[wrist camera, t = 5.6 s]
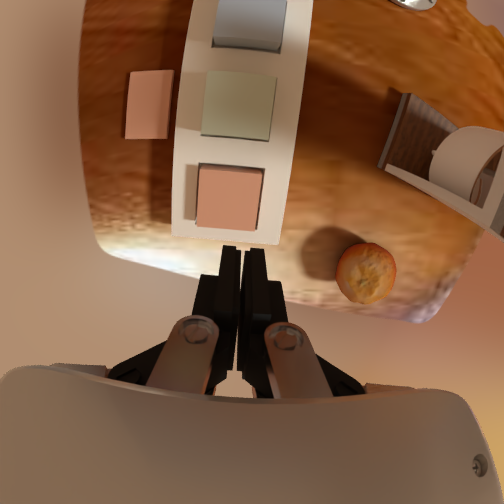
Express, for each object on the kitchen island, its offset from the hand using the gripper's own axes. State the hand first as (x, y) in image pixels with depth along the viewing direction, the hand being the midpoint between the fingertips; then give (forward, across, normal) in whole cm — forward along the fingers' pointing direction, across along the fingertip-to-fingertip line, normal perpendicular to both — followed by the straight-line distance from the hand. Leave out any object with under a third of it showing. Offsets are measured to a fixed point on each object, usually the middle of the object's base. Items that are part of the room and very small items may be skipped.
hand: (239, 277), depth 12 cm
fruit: (+21, -17, +10) cm, 29 cm away
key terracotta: (+20, +1, +2) cm, 20 cm away
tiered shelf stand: (+22, -23, -7) cm, 32 cm away
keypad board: (+21, +1, -7) cm, 23 cm away
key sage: (+18, +1, -7) cm, 20 cm away
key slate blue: (+19, +1, -17) cm, 25 cm away
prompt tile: (+21, +11, -7) cm, 25 cm away
